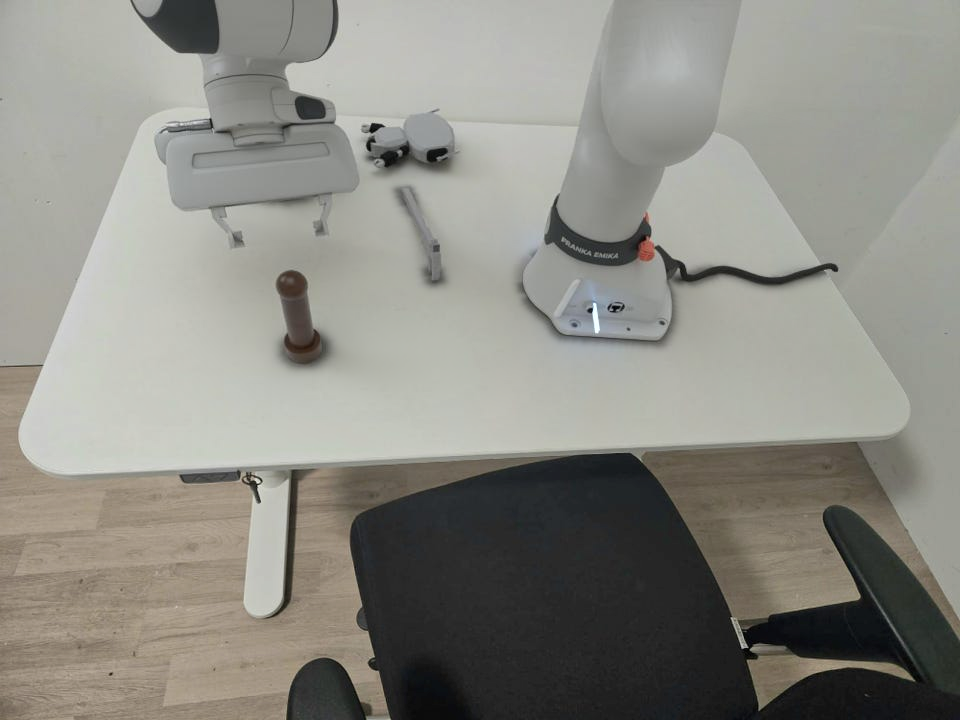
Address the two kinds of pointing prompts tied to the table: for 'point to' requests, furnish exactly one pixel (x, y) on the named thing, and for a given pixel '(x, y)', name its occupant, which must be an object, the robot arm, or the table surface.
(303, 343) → the pestle
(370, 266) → the table surface
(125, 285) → the table surface
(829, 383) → the table surface
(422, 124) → the robot toy
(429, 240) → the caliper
